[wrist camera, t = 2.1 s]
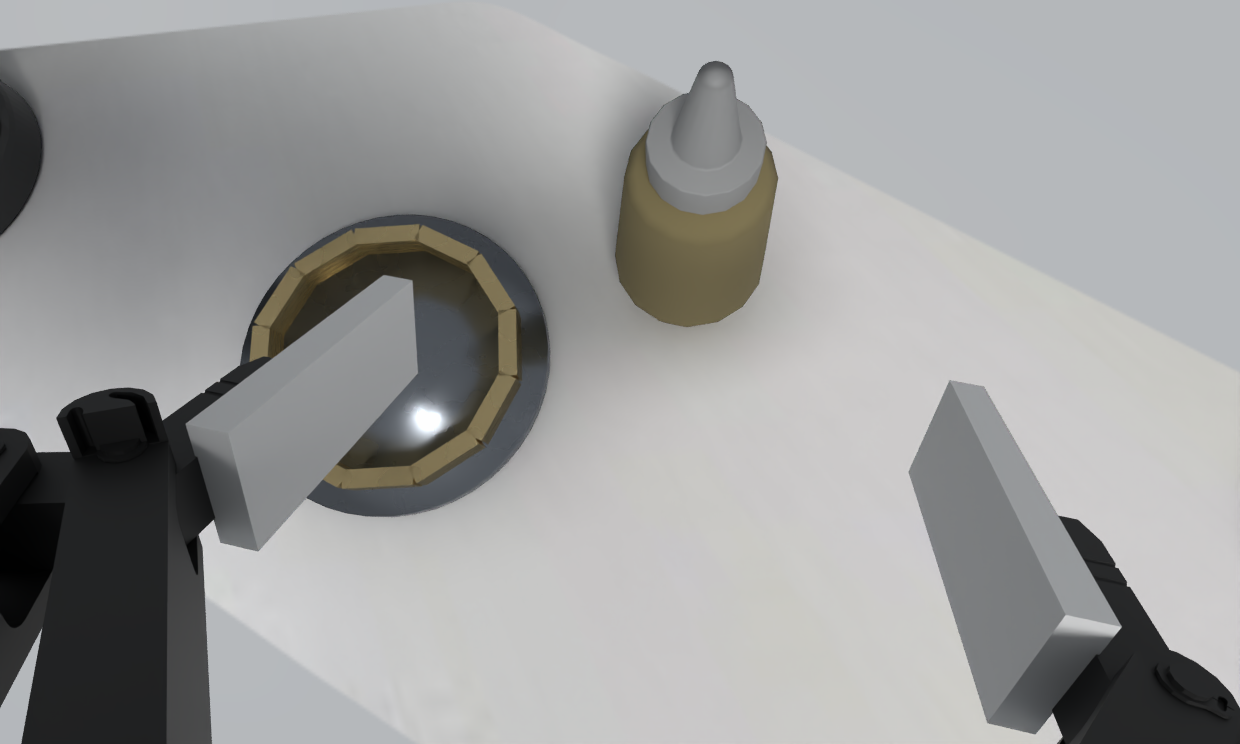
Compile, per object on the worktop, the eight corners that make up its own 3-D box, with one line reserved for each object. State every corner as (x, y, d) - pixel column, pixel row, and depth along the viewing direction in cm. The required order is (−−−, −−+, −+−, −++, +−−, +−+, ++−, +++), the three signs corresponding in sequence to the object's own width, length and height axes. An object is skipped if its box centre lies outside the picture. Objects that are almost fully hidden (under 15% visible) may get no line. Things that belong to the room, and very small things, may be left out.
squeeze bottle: (721, 201, 40) (778, -56, 22) (775, 317, 38) (883, 135, 20) (599, 246, 40) (559, 20, 22) (646, 365, 38) (645, 222, 20)
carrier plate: (190, 428, 38) (158, 421, 35) (354, 179, 41) (335, 157, 39) (452, 575, 35) (437, 578, 33) (603, 295, 39) (600, 279, 36)
